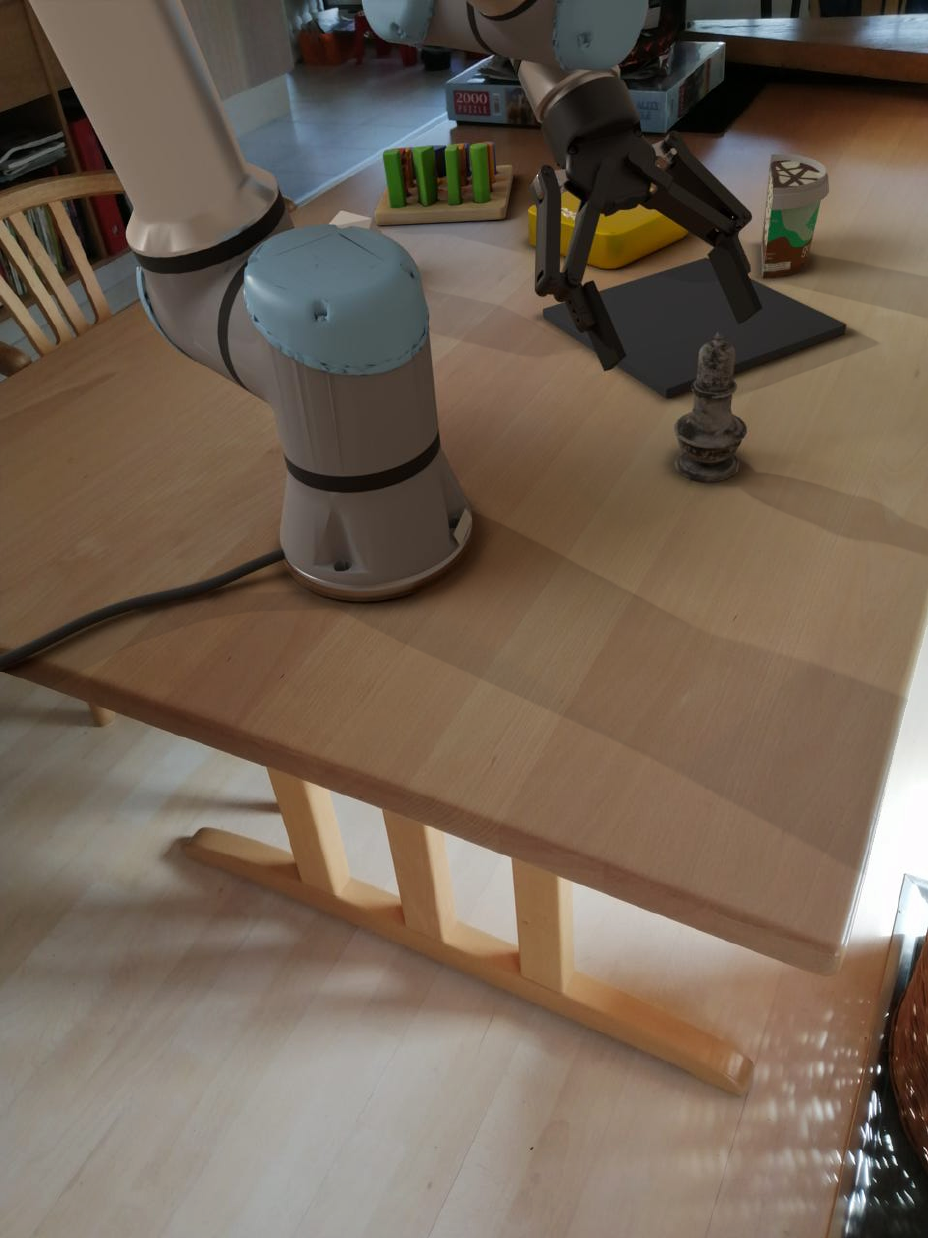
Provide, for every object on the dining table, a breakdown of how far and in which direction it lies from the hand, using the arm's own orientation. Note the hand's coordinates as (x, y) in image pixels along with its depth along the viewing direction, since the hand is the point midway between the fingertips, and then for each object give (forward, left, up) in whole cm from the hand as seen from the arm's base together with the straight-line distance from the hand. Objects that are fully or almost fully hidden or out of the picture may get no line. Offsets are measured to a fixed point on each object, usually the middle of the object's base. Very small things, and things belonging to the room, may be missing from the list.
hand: (684, 339), depth 81 cm
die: (-9, +50, -10) cm, 52 cm away
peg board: (+13, +69, -10) cm, 71 cm away
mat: (+15, +18, -10) cm, 25 cm away
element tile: (+22, +43, -10) cm, 49 cm away
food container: (+34, +24, -10) cm, 43 cm away
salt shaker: (0, -4, -10) cm, 11 cm away
